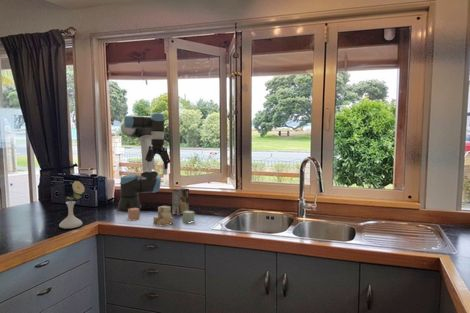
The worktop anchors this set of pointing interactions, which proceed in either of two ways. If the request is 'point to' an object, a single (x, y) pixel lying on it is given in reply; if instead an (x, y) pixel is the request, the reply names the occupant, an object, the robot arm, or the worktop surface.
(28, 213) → the worktop surface
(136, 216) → the terracotta block
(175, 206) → the coffee box
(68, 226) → the flower in vase
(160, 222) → the oak base
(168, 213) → the maple block
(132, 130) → the robot arm
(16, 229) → the worktop surface
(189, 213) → the sage block
